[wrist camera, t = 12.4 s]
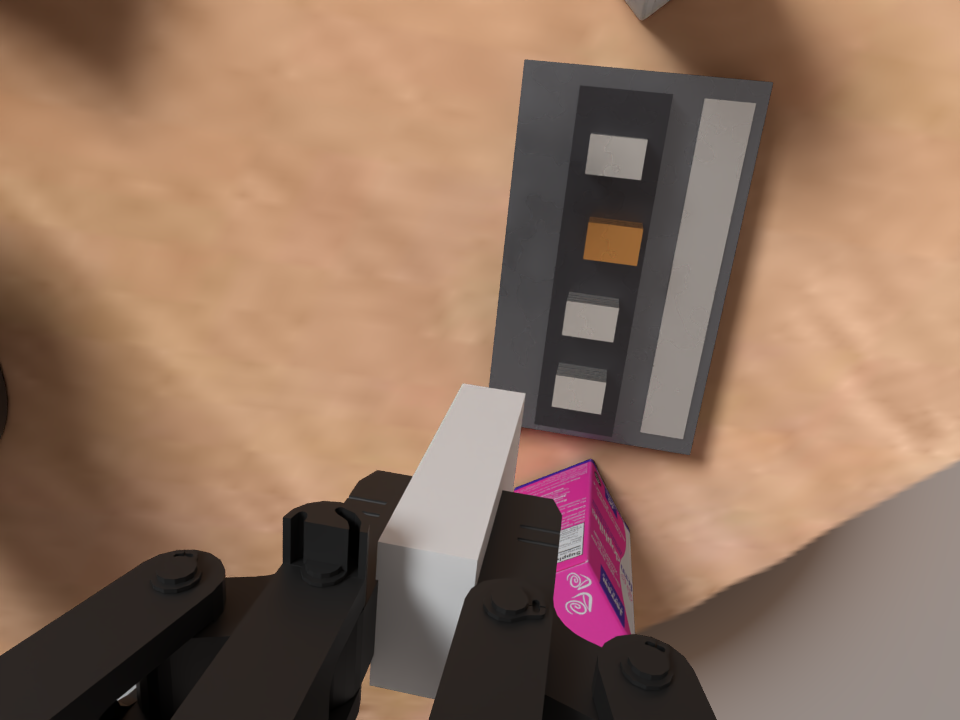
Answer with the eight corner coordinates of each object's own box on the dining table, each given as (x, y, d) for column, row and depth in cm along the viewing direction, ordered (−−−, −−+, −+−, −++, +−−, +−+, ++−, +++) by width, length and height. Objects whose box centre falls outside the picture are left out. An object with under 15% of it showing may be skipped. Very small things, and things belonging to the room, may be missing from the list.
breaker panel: (686, 440, 42) (696, 484, 37) (491, 408, 44) (474, 446, 39) (764, 84, 35) (790, 78, 30) (529, 62, 37) (514, 53, 32)
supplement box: (634, 529, 45) (639, 658, 34) (550, 557, 46) (530, 688, 36) (595, 453, 43) (587, 562, 33) (511, 485, 45) (478, 599, 35)
